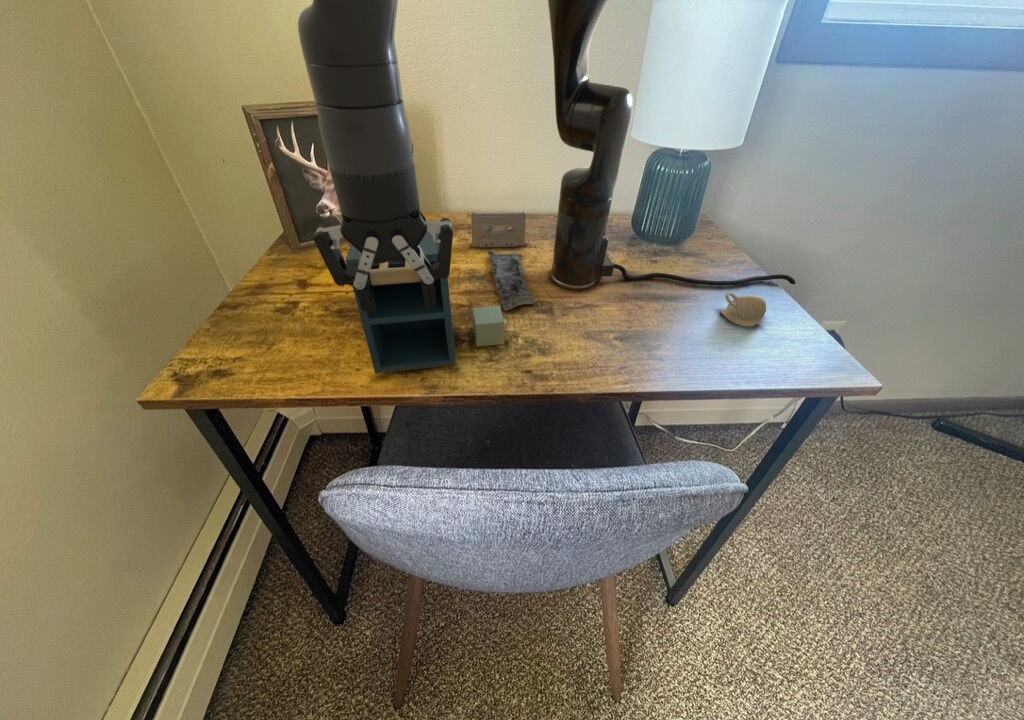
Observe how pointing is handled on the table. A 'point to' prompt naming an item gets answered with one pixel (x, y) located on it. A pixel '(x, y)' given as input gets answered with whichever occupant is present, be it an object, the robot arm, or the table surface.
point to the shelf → (406, 316)
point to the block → (488, 325)
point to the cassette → (498, 237)
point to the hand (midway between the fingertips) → (400, 308)
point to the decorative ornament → (745, 310)
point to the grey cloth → (510, 280)
